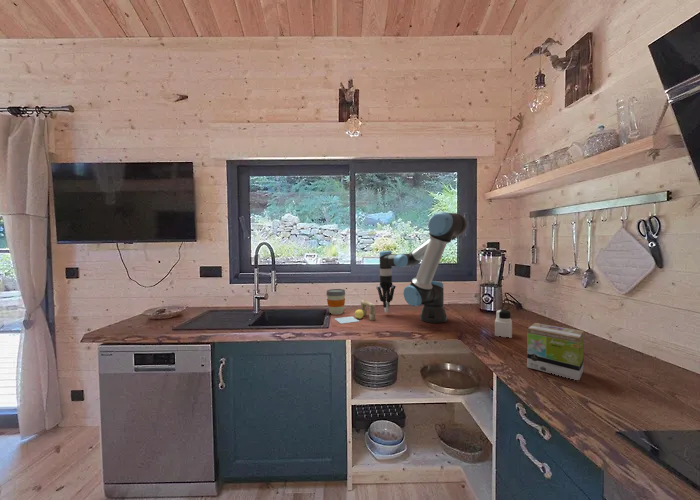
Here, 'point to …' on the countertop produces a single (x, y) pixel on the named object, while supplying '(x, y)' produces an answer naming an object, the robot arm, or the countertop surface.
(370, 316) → the bridge
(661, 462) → the countertop surface
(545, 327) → the tea box
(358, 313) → the ball
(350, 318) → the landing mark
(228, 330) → the countertop surface
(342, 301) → the reusable coffee cup
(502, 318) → the medicine bottle
